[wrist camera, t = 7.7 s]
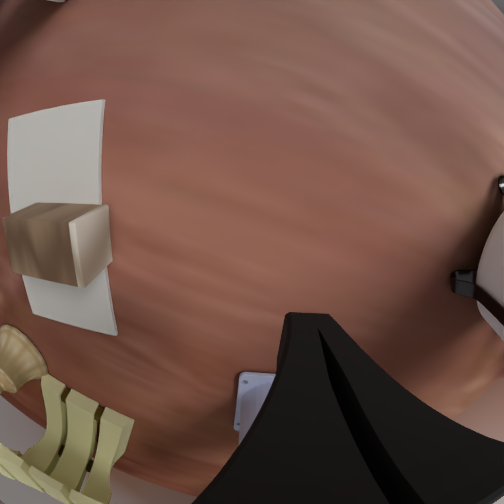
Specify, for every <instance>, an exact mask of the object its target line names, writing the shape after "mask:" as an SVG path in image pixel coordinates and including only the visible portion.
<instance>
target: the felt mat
mask: <svg viewBox="0 0 504 504" xmlns="http://www.w3.org/2000/svg"><path fill="white" fill-rule="evenodd" d="M104 108H105V100H95V101H88V102H82V103H76V104H70V105H65V106H59V107H54V108H50V109H45V110H41V111H37V112H33V113H29V114H25V115H21V116H17V117H14V118H10V119H9V123H8V150H7V159H8V186H9V199H10V209H11V214H12V213H14V212H16V211H18V210H21V209H23V208H25V207H27V206H30V205H32V204H34V203H37V202H40V203H75V204H98V205H102V186H101V163H102V135H103V119H104ZM22 276H23V280H24V284H25V288H26V291H27V295H28V298H29V302H30V305H31V308H32V311H33V314H36V315H39V316H42V317H45V318H49V319H52V320H55V321H59V322H62V323H66V324H69V325H73V326H77V327H80V328H84V329H88V330H92V331H96V332H100V333H105V334H109V335H113V336H117V334H118V330H117V325H116V320H115V315H114V310H113V304H112V298H111V292H110V285H109V278H108V270H107V267H106V268H105V269H104V270H102V271H101V272H100V273H99V274H98V275H97V276H96V277H95V278H94V279H93V280H92V281H91V282H90V283H89V284H88V285H87V286H86V288H81V287H76V286H71V285H66V284H61V283H56V282H52V281H47V280H43V279H38V278H34V277H30V276H25V275H22Z"/></svg>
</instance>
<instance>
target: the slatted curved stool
mask: <svg viewBox="0 0 504 504" xmlns="http://www.w3.org/2000/svg"><path fill="white" fill-rule="evenodd" d="M41 387H42V392H43V397H44V403H45V408H46V416H47V428H46V432H45V435H44V437H43V438H42V439H41V441H39V442H38V443H37V444H36V445H34V446H33V447H31V448H29V449H28V450H27V451H26V452H25V453H24V454H23V455H22V454H21V453H20V452H19V451H14V450H11V449H8V448H6V447H5V446H4V445H2V444H1V443H0V473H1V474H2V475H4V476H6V477H9V478H11V479H14V480H16V479H18V480H19V481H20V482H22V483H24V484H26V485H29V486H31V487H33V488H35V489H37V490H39V491H42V492H45V491H46V492H47V493H48V494H49V495H50V496H52V497H54V498H56V499H57V500H59V501H61V502H63V503H65V504H109V502H110V499H111V489H110V471H111V469H112V467H113V465H114V464H115V462H116V461H117V460H118V459H119V458H120V457H121V456H122V455H123V454H124V453H125V450H126V447H127V444H128V440H129V437H130V434H131V431H132V427H133V424H134V421H135V420H134V419H132V418H130V417H127V416H125V415H123V414H121V413H118V412H116V411H114V410H112V409H110V408H108V407H105V409H104V408H102V407H100V406H99V403H98V402H96V401H94V400H92V399H90V398H88V397H86V396H84V395H83V394H81V393H79V392H77V391H75V390H74V389H71V391H70V390H68V389H67V388H66V385H65V384H63V383H62V382H60V381H59V380H57V379H55V378H54V377H52V376H51V375H49V374H47V375H45V376H42V379H41ZM98 421H99V422H100V432H99V440H98V447H97V452H96V456H95V460H94V461H93V460H91V459H92V456H93V453H94V450H95V446H96V441H97V424H98ZM59 458H60V459H59ZM58 461H59V462H58ZM87 471H88V472H90V474H89V477H88V479H87V482H86V484H85V487H84V489H83V490H82V492H81V493H79V491H80V489H81V486H82V483H83V480H84V478H85V475H86V472H87Z"/></svg>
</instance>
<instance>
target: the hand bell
mask: <svg viewBox="0 0 504 504" xmlns="http://www.w3.org/2000/svg"><path fill="white" fill-rule="evenodd" d="M47 374H48V369H47V365H46V362H45V360H44V358H43V357H42V355H41V353H40V352H39V350H38V349H37V348H36V346H35V345H34V344H33V343H32V342H31V341H30V340H29V339H28V338H27V337H26V336H25V335H24V334H23V333H22V332H21V331H19V330H18V329H16V328H15V327H12V326H10V325H2V326H1V328H0V394H1V393H2V392H3V391H4V390H5V391H8V392H10V393H16V392H17V391H18V390H19V389H20V388H21V387H22V386H23V385H24V384H25V383H26V382H28V381H30V380H32V379H42V376H45V375H47Z"/></svg>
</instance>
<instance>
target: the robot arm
mask: <svg viewBox="0 0 504 504" xmlns="http://www.w3.org/2000/svg"><path fill="white" fill-rule="evenodd" d="M244 380H246V381H244ZM234 430H236V431H239V445H238V447H237V449H236V450H235V451H234V453H233V454H232V456H231V457H230V458H229V460H228V461H227V463H226V464H225V465H224V467H223V468H222V469H221V471H220V472H219V473H218V475H217V476H216V477H215V478H214V479H213V481H212V482H211V483H210V484H209V485H208V486H207V487H206V489H205V490H204V491H203V492H202V493H201V494H200V495H199V496H198V497H197V499H196V500H195V501H194V502H193V503H192V504H493V503H494V502H495V501H497V500H498V499H500V498H501V497H503V496H504V442H501V441H498V440H495V439H492V438H489V437H486V436H484V435H482V434H479V433H477V432H475V431H473V430H471V429H468V428H466V427H464V426H462V425H460V424H458V423H456V422H455V421H453V420H451V419H449V418H448V417H446V416H444V415H443V414H441V413H439V412H438V411H436V410H434V409H433V408H431V407H430V406H428V405H427V404H425V403H424V402H422V401H421V400H420V399H418V398H417V397H416V396H414V395H413V394H412V393H410V392H409V391H408V390H406V389H405V388H404V387H402V386H401V385H400V384H399V383H398V382H396V381H395V380H394V379H393V378H392V377H391V376H390V375H388V374H387V373H386V372H385V371H384V370H383V369H382V368H381V367H380V366H379V365H378V364H376V363H375V362H374V361H373V360H372V359H371V358H370V357H369V356H368V355H367V354H366V353H365V352H364V351H363V350H362V349H361V348H360V347H359V346H358V345H357V343H356V342H355V341H354V340H353V339H352V338H351V337H350V336H349V335H348V334H347V333H346V332H345V331H344V330H343V329H342V327H341V326H340V325H339V324H338V323H337V322H336V321H335V320H334V319H333V318H332V317H331V316H330V315H329V314H317V313H297V312H289V313H287V314H286V315H285V319H284V324H283V330H282V335H281V340H280V346H279V351H278V356H277V372H276V374H270V373H255V372H242V373H240V376H239V384H238V393H237V402H236V411H235V419H234ZM0 504H4V503H3V502H2V501H0Z"/></svg>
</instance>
